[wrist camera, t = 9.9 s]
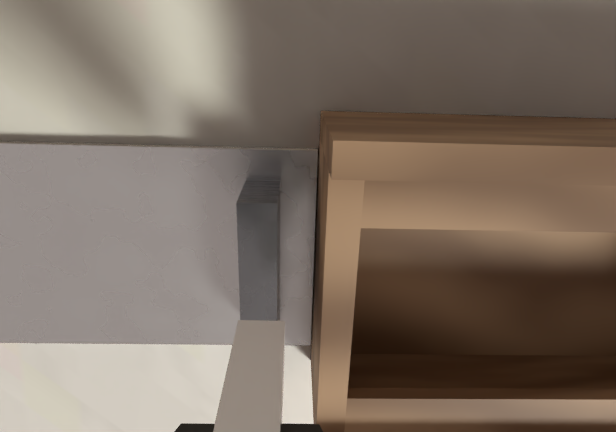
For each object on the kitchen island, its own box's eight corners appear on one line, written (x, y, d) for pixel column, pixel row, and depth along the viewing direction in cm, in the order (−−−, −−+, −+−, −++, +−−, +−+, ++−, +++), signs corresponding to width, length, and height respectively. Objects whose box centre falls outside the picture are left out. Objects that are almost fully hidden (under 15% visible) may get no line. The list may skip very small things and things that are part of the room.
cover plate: (-47, 137, 19) (-140, 159, 15) (317, 146, 20) (322, 169, 16) (6, 331, 23) (-57, 389, 19) (310, 334, 24) (312, 391, 20)
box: (320, 110, 19) (333, 140, 12) (748, 122, 20) (975, 156, 13) (310, 361, 24) (316, 476, 17) (650, 363, 25) (779, 475, 18)
